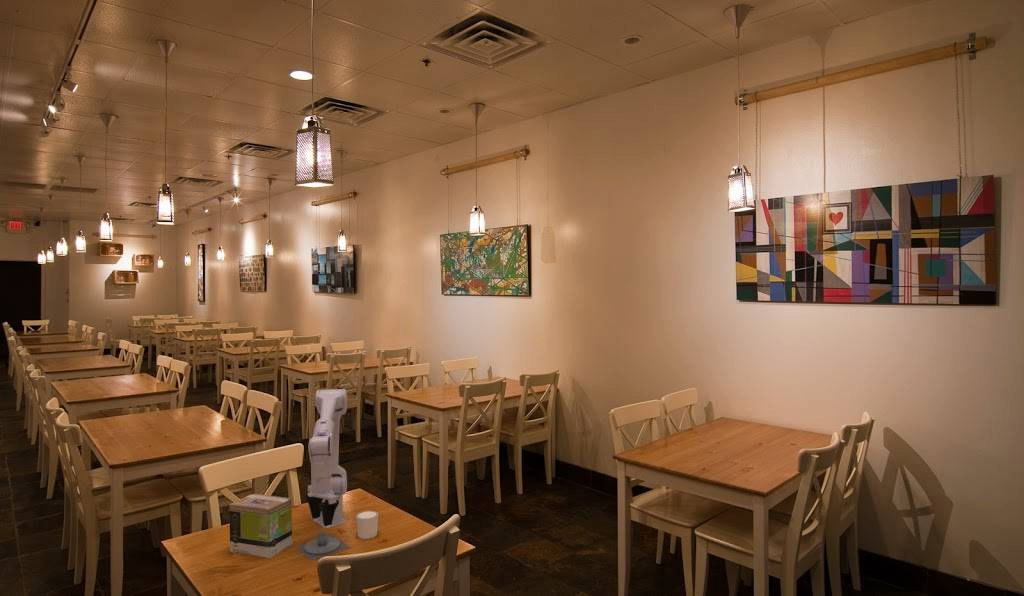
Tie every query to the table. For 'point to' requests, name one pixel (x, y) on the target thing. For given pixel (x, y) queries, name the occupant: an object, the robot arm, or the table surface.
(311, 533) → the table surface
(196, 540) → the table surface
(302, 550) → the mat
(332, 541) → the lid
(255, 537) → the tea box
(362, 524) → the white cylinder
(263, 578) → the table surface
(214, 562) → the table surface
